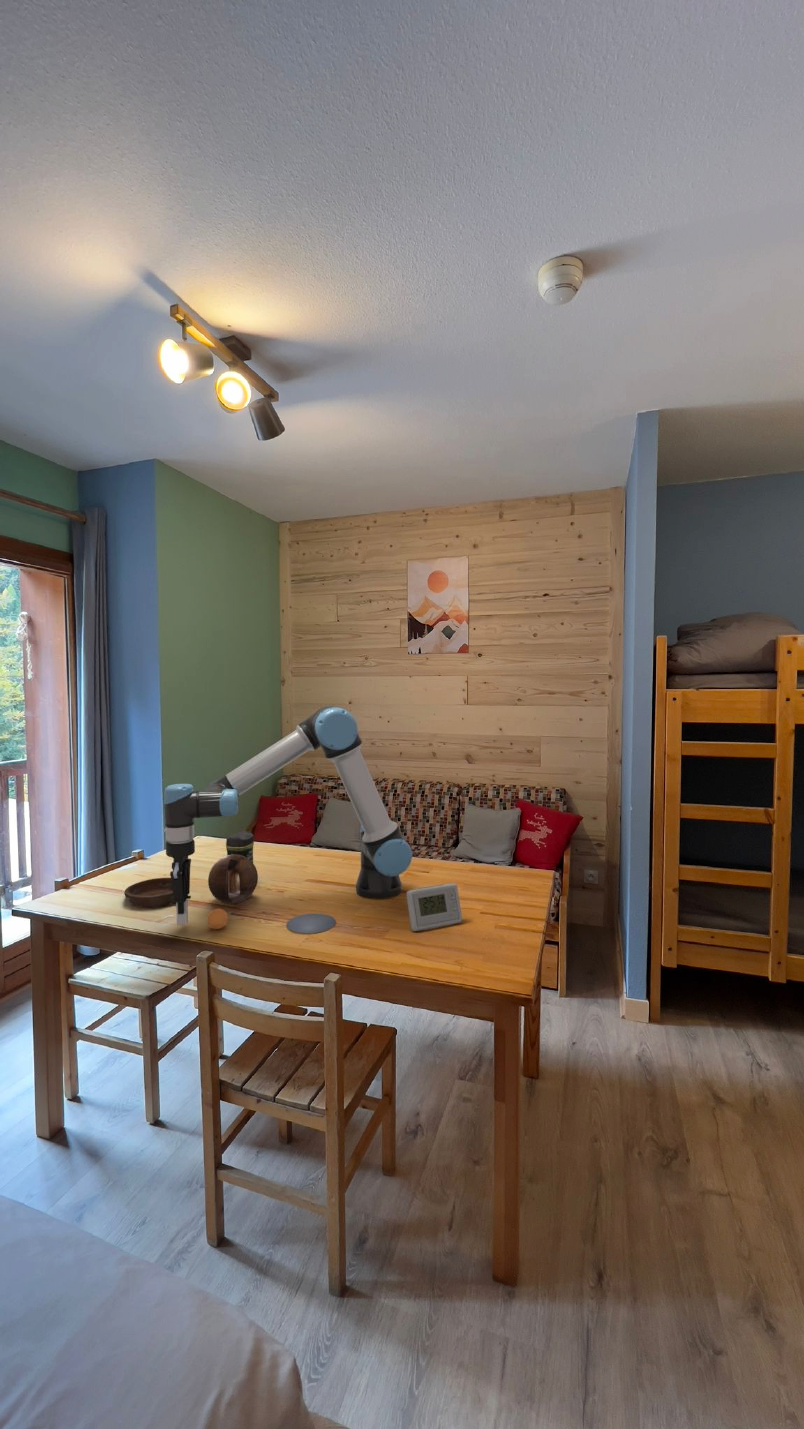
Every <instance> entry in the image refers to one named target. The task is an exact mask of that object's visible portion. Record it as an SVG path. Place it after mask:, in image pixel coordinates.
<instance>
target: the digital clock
mask: <svg viewBox="0 0 804 1429" xmlns="http://www.w3.org/2000/svg"><path fill="white" fill-rule="evenodd" d="M405 896H406V903H407V910H408V916H409V924H410V925H409V926H410V929H411V931H413V932H419V931H428V930H429V929H430V930H434V929H439V927H440V928H443V927H442V926H445V927H450V926H452V925H456V924H460V923H462V922H463V913H462V908H461V902H460V901H461V900H460V896H459V889H458V886H457V884H456V883H454V882H453V883H448V884H447V883H446V884H444V883H443V884H437V885H432V886H430V885H429V886H425V887H419V888H416V889H410V890H407V891H406V895H405Z"/></svg>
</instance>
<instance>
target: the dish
mask: <svg viewBox="0 0 804 1429" xmlns="http://www.w3.org/2000/svg"><path fill="white" fill-rule="evenodd" d="M124 896H125V898H126V899H127V898H128V901H129V903H130V904H131V905H132V906H135V907H139V908H146V909H148V908H150V909H151V908H162V907H165V906H170V905H172V904H174V903H173V900H174V898H173V889H172V880H171V877H155V878H149V879H146V880H142V881H138V882H135V883H134V884H131V885H129V886H128V887H126V889H125V890H124Z"/></svg>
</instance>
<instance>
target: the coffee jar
mask: <svg viewBox="0 0 804 1429" xmlns="http://www.w3.org/2000/svg"><path fill="white" fill-rule="evenodd" d="M254 839H255V838H254V834H253V833H252V832H251V831H246V830H245V831H241V830H240V831H239V832H237V833H234V834H232V835H230V836H227V837H226V842H225V847H226V848H225V849H226V854H227V855H226V856H228V855H234V854H236V855H242V856H244V857H246V858H248V859H249V860H251V861H252V863H253V864H254V845H255V844H254V843H255V841H254Z"/></svg>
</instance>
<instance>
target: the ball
mask: <svg viewBox="0 0 804 1429" xmlns="http://www.w3.org/2000/svg"><path fill="white" fill-rule="evenodd" d="M228 919H229V917H228V914H227V912H226V911H225V910H224V909H222V908H215V909H213V910H211V911H210V912H208V915H207V919H206V921H207V925H208V927H209V928H211V929H212V930H220V929H223V928H224V927H225V926H226V925H227V923H228Z"/></svg>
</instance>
